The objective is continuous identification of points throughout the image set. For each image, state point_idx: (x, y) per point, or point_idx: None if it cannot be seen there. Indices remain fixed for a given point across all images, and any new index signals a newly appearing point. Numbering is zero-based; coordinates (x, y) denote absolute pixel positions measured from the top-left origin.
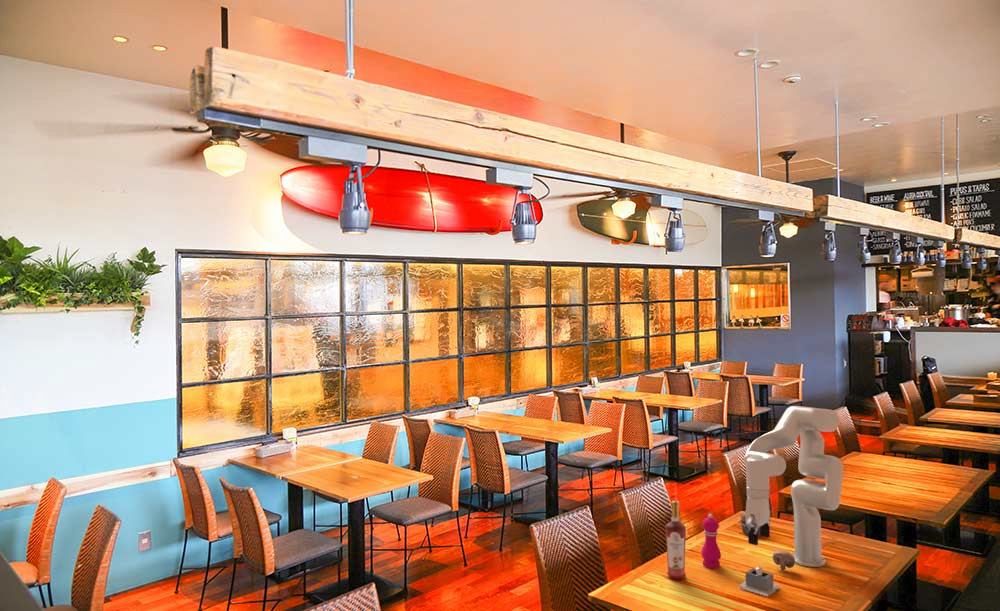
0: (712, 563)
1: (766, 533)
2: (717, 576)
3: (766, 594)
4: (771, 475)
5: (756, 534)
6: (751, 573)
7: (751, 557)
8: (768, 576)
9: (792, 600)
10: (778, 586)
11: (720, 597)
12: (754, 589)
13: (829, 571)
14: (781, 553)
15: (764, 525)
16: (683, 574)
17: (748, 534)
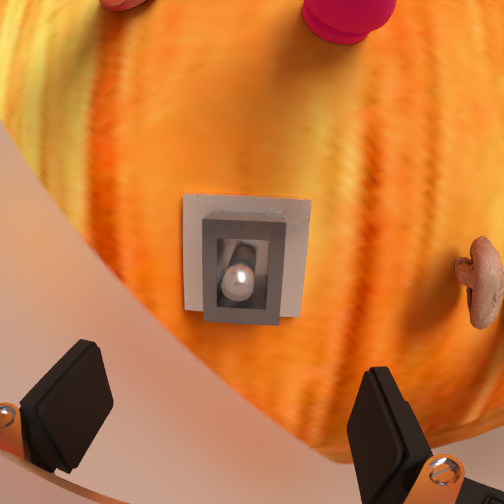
0: (315, 18)
1: (358, 438)
2: (245, 70)
3: (185, 304)
4: None
5: (58, 461)
6: (215, 245)
7: (500, 132)
8: (237, 318)
9: (226, 368)
10: (289, 315)
11: (76, 177)
12: (186, 259)
13: (491, 359)
14: (479, 298)
15: (387, 489)
16: (120, 4)
17: (34, 388)
